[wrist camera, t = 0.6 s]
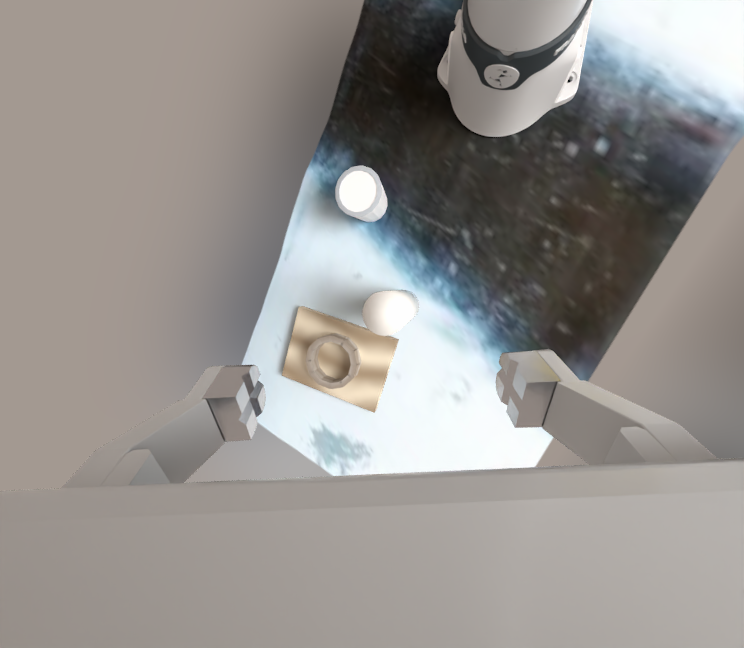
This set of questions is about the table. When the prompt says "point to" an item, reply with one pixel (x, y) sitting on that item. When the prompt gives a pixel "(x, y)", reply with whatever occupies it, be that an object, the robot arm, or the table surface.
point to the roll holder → (339, 358)
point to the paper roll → (389, 311)
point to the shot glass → (361, 194)
